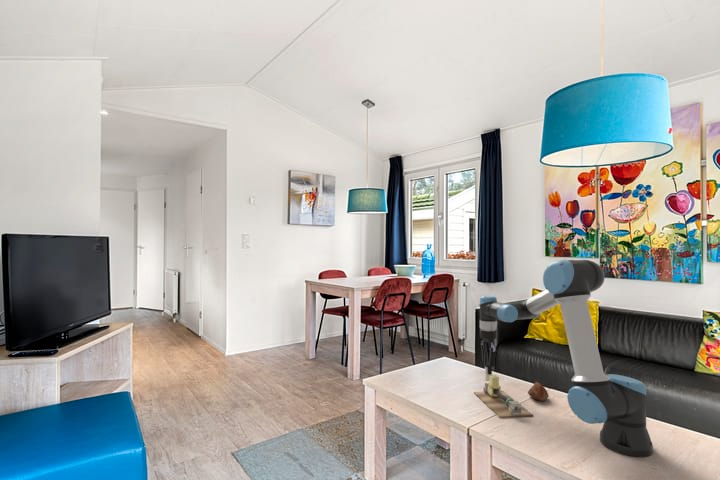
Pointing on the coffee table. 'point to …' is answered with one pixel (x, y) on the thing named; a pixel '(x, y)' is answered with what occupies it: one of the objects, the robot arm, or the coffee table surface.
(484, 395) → the brown flat board
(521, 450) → the coffee table surface
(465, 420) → the coffee table surface
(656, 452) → the coffee table surface
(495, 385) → the yellow sliding block
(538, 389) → the fossil
